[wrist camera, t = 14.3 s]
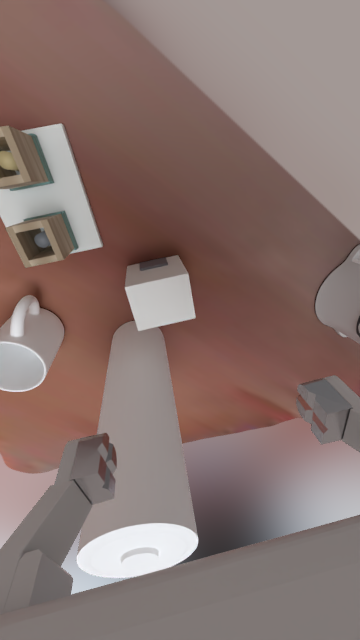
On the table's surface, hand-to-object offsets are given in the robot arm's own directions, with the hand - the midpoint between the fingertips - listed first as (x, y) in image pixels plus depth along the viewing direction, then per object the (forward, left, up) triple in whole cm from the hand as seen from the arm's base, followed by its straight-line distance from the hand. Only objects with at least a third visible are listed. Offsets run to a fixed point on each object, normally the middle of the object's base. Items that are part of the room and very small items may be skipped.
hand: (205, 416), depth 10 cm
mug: (+21, +7, -31) cm, 38 cm away
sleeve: (+13, -13, -30) cm, 35 cm away
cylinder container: (+7, +16, -31) cm, 36 cm away
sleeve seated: (+13, -5, -30) cm, 33 cm away
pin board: (+13, -9, -31) cm, 35 cm away
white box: (+1, +5, -31) cm, 32 cm away
